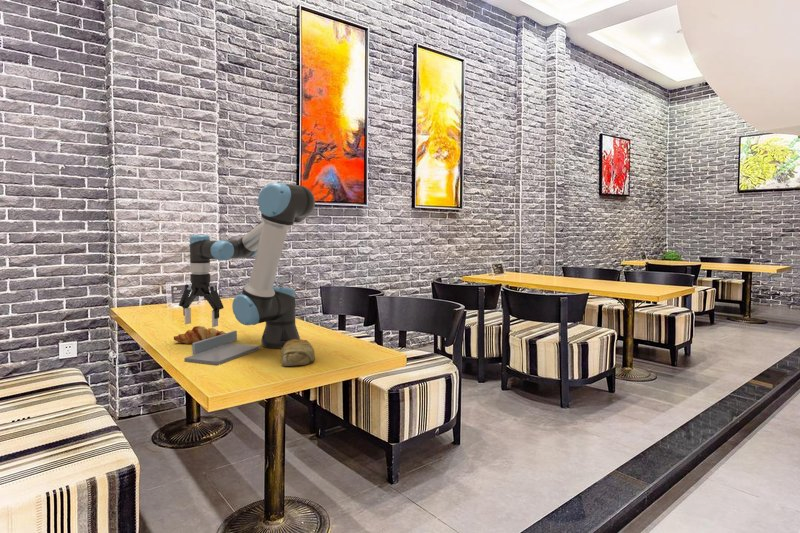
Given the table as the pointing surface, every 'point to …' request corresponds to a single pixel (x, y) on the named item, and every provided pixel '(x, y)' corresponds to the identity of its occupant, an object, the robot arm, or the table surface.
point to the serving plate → (222, 354)
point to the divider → (214, 342)
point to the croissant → (197, 335)
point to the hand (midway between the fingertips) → (201, 325)
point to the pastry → (297, 353)
